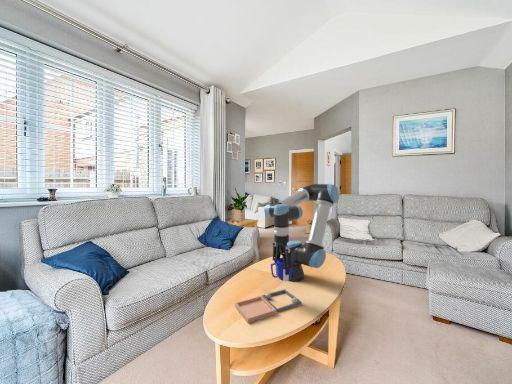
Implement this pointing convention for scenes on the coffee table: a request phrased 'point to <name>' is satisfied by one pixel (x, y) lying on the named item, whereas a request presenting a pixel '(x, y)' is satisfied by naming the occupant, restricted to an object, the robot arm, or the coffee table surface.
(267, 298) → the pebble
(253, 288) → the coffee table surface
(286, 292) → the slate bin
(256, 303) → the terracotta dish
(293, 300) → the pebble
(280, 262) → the mug
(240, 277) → the coffee table surface
